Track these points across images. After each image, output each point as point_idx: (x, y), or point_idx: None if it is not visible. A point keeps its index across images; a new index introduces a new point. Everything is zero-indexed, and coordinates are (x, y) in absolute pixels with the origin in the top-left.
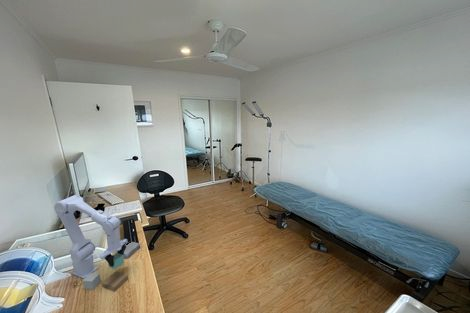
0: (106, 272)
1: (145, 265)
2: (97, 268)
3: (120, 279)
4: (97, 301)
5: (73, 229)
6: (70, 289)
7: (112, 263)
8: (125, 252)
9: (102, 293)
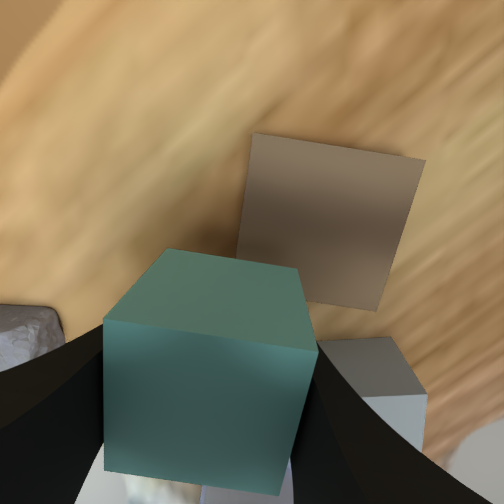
0: None
1: (52, 68)
2: None
3: (323, 165)
4: (498, 225)
5: None
6: None
7: (324, 363)
8: (13, 365)
9: (423, 244)
